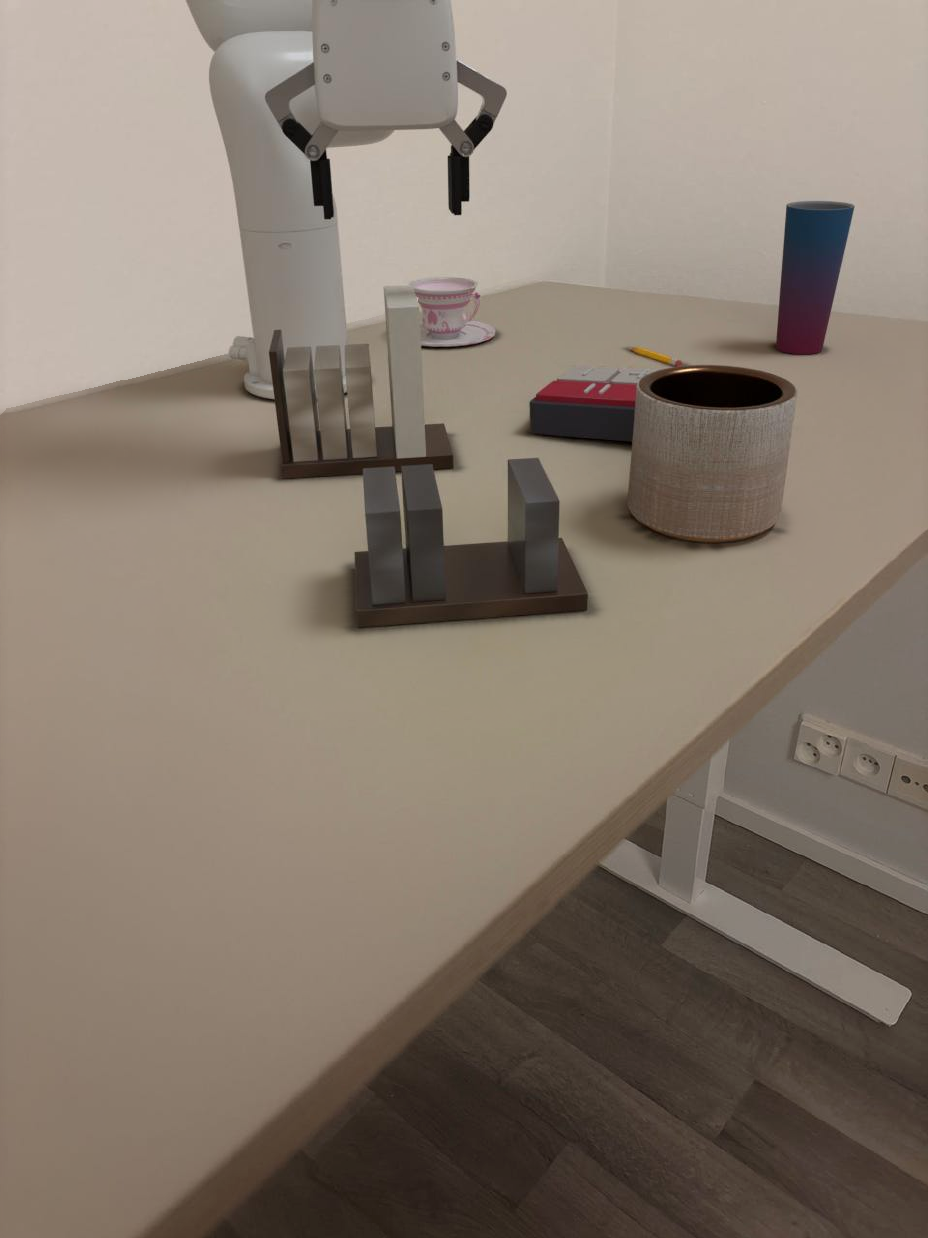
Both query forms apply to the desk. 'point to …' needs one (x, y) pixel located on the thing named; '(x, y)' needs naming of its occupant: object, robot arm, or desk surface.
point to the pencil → (656, 356)
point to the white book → (405, 370)
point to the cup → (810, 272)
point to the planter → (710, 451)
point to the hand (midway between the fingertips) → (392, 214)
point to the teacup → (449, 312)
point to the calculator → (588, 403)
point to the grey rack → (461, 554)
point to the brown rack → (336, 415)
